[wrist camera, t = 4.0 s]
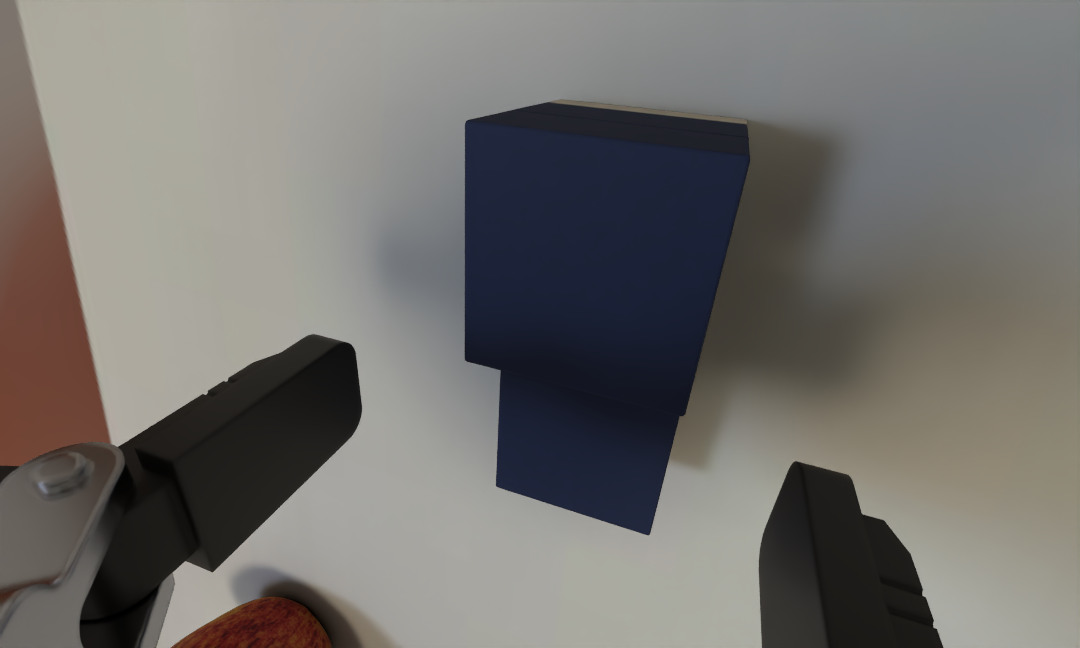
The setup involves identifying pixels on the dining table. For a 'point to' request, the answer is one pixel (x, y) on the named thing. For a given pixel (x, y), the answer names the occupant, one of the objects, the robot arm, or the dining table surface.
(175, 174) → the dining table surface
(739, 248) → the dining table surface
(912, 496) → the dining table surface
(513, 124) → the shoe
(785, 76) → the dining table surface
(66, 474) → the robot arm
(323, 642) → the apple
